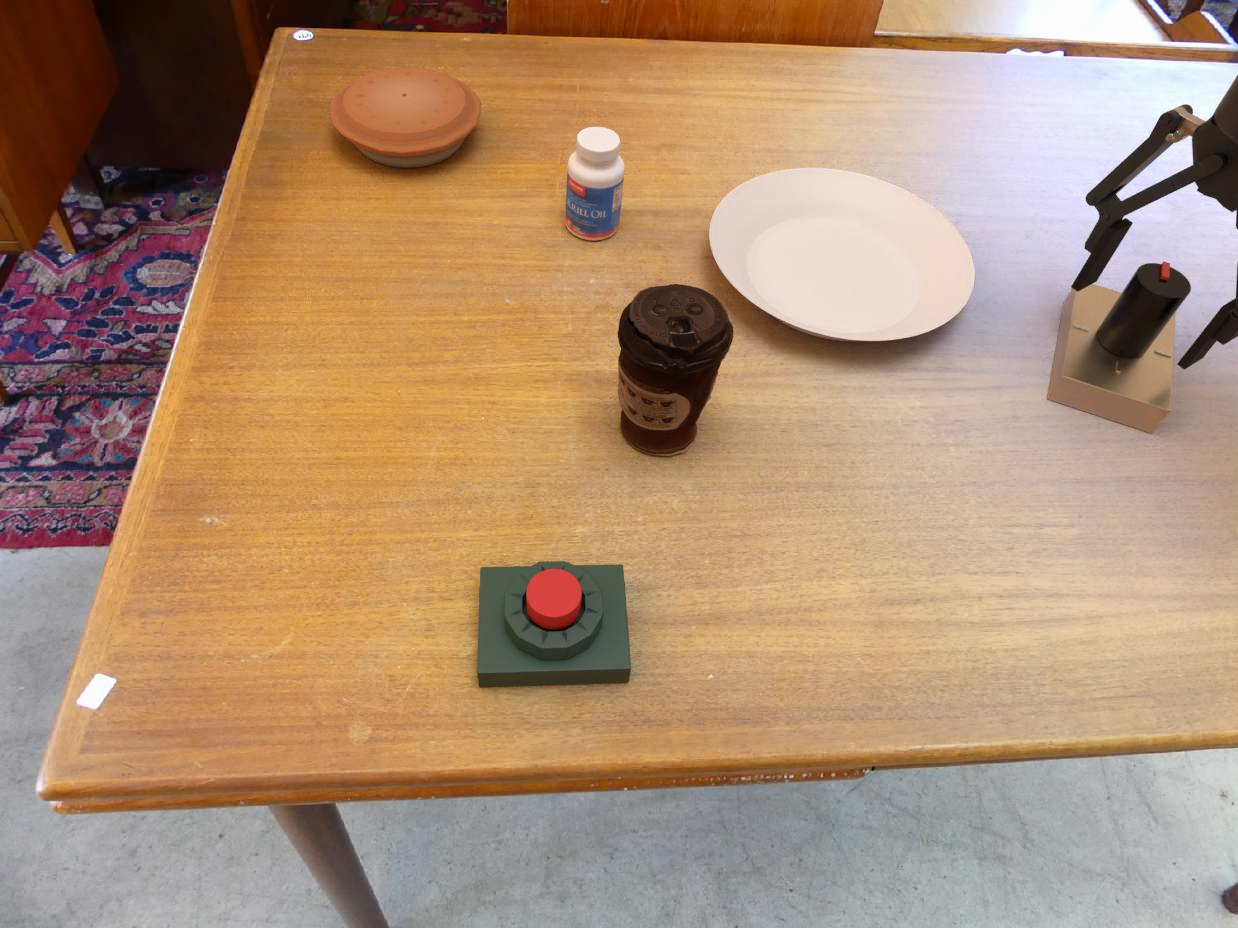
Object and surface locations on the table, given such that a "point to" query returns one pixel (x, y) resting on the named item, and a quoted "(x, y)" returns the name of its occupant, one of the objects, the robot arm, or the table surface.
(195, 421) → the table surface
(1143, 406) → the panel
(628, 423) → the coffee cup
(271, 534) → the table surface
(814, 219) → the white plate
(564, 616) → the button
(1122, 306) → the hob knob
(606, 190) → the pill bottle
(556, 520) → the table surface
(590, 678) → the button box
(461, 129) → the pie
